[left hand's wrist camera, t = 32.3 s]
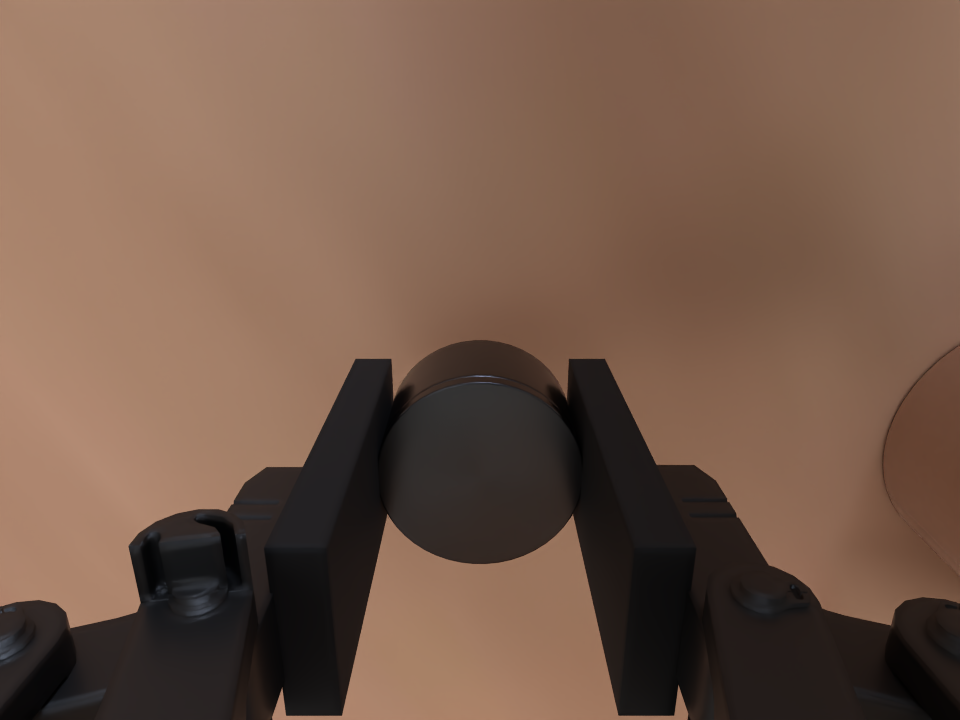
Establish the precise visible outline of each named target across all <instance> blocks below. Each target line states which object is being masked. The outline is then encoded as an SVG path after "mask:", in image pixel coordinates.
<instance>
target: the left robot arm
mask: <svg viewBox="0 0 960 720" xmlns="http://www.w3.org/2000/svg"><path fill="white" fill-rule="evenodd" d="M567 404H568V407H569V411H570V414H571V417H572V421H573V424H574V428H575V431H576V435H577V438H578V442H579V445H580V448H581V452H582V457H583V465H582V482H581V496H580V499H579V502H578V504H577V507H576V509H575V510H574V512H573V516H574V520H575V525H576V529H577V534H578V538H579V542H580V547H581V551H582V556H583V560H584V565H585V569H586V573H587V578H588V582H589V587H590V591H591V596H592V600H593V604H594V609H595V613H596V618H597V622H598V627H599V631H600V635H601V640H602V644H603V649H604V653H605V658H606V662H607V667H608V671H609V675H610V680H611V684H612V689H613V693H614V698H615V702H616V706H617V711H618V715H619V716H674V713H675V706H676V698H677V691H678V684H679V687H680V690H681V693H682V696H683V699H684V702H685V705H686V708H687V711H688V720H960V604H959V603H957V602H953V601H949V600H945V599H935V598H924V597H922V598H917V599H912V600H907V601H904V602H903V603H902V604H901V605H900V606H899V607H898V608H897V609H895V613H894V617H893V620H892V624H891V626H890V625H886V624H881V623H876V622H872V621H867V620H863V619H858V618H853V617H849V616H844V615H841V614H837V613H834V612H830V611H827V610H824V609H822V608H821V605H820V603H819V601H818V600H817V598H816V597H815V595H814V594H813V592H812V591H811V589H810V588H809V587H808V586H806V585H805V584H804V583H802V582H801V581H800V580H798V579H797V578H796V577H794V576H793V575H791V574H788V573H786V572H784V571H782V570H780V569H777V568H775V567H772V566H769V565H768V564H767V562H766V560H765V559H764V557H763V556H762V554H761V552H760V551H759V549H758V548H757V546H756V544H755V543H754V541H753V540H752V538H751V536H750V535H749V533H748V532H747V530H746V528H745V527H744V525H743V524H742V522H741V520H740V519H739V518H737V517H736V512H735V511H734V509H733V508H732V506H731V504H730V503H729V502H727V498H726V496H725V495H724V493H723V491H722V490H721V488H720V487H719V485H718V483H717V482H716V480H714V479H713V478H711V477H710V476H709V475H707V474H706V473H704V472H703V471H702V470H700V469H699V468H697V467H696V466H695V465H656V463H655V461H654V459H653V457H652V455H651V453H650V451H649V449H648V447H647V445H646V443H645V441H644V439H643V436H642V434H641V432H640V430H639V428H638V426H637V424H636V422H635V420H634V418H633V416H632V414H631V412H630V410H629V408H628V406H627V404H626V402H625V400H624V397H623V395H622V393H621V391H620V389H619V387H618V385H617V383H616V381H615V379H614V377H613V375H612V373H611V371H610V369H609V367H608V365H607V363H606V360H605V359H569V371H568V392H567ZM392 405H393V383H392V362H391V359H355V361H354V363H353V365H352V368H351V370H350V372H349V374H348V376H347V378H346V380H345V382H344V384H343V386H342V388H341V390H340V392H339V394H338V396H337V398H336V400H335V402H334V405H333V407H332V409H331V411H330V413H329V415H328V417H327V419H326V421H325V423H324V425H323V427H322V429H321V431H320V433H319V435H318V437H317V439H316V442H315V444H314V446H313V448H312V450H311V452H310V454H309V456H308V458H307V460H306V462H305V464H304V466H303V467H266V468H265V469H263V470H262V471H261V472H259V473H258V474H257V475H255V476H254V477H252V478H251V479H250V480H248V481H247V482H245V484H244V485H243V487H242V489H241V490H240V492H239V493H238V495H237V497H236V498H235V500H234V505H231V506H230V508H229V509H228V511H227V512H226V511H222V510H219V509H198V510H193V511H188V512H183V513H178V514H175V515H172V516H170V517H167V518H164V519H162V520H159V521H157V522H155V523H153V524H152V525H150V526H149V527H147V528H146V529H144V530H143V531H141V532H140V533H139V534H138V535H137V536H136V537H135V539H134V540H133V541H132V542H131V544H130V545H129V551H130V555H131V560H132V564H133V569H134V574H135V578H136V583H137V588H138V592H139V597H140V601H141V604H140V606H139V609H138V611H137V612H136V613H133V614H130V615H126V616H123V617H119V618H116V619H111V620H106V621H102V622H97V623H93V624H88V625H83V626H79V627H74V628H70V626H69V622H68V618H67V615H66V612H65V611H64V610H63V609H62V608H60V607H59V606H58V605H57V604H55V603H50V602H45V601H40V600H36V601H25V602H15V603H12V604H8V605H5V606H1V607H0V720H272V716H273V713H274V710H275V707H276V704H277V701H278V698H279V695H280V692H281V689H282V688H283V695H284V703H285V710H286V716H342V713H343V708H344V704H345V699H346V695H347V691H348V686H349V682H350V677H351V673H352V668H353V664H354V660H355V655H356V651H357V646H358V642H359V637H360V633H361V629H362V624H363V620H364V615H365V611H366V606H367V602H368V597H369V593H370V589H371V584H372V580H373V575H374V571H375V566H376V562H377V558H378V553H379V549H380V544H381V540H382V535H383V531H384V527H385V522H386V518H387V512H386V510H385V508H384V506H383V503H382V501H381V498H380V491H379V475H378V454H379V450H380V446H381V443H382V439H383V436H384V432H385V429H386V425H387V422H388V419H389V415H390V412H391V408H392Z"/></svg>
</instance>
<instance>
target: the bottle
mask: <svg viewBox="0 0 960 720" xmlns="http://www.w3.org/2000/svg"><path fill="white" fill-rule="evenodd" d="M883 469H884V479H885V484H886V488H887V492H888V495H889V497H890V499H891V502H892V504H893V506H894V507H895V509H896V510H897V512H898V514H899V515H900V516H901V518H902V519H903V520H904V521H905V522H906V523H907V524H908V525H909V526H910V527H911V528H912V529H913V530H914V531H915V532H916V533H917V534H918V535H919V536H920V537H921V538H922V539H923V540H924V541H925V542H926V543H927V544H928V546H929V547H930V548H931V549H932V550H933V551H934V552H935V553H936V554H937V555H938V556H939V557H940V558H941V559H942V560H943V561H944V562H945V563H946V564H947V565H948V566H949V567H950V568H951V569H952V570H953V571H954V572H955V573H956V574H957V575H958V576H959V577H960V345H959V346H958V347H956V348H955V349H953V350H952V351H951V352H949V353H948V354H947V355H945V356H944V357H943V358H941V359H940V360H939V361H938V362H937V363H936V364H935V365H933V366H932V367H931V368H930V369H929V370H928V371H927V372H926V373H925V374H924V375H923V376H922V377H921V379H920V380H919V381H918V382H917V383H916V384H915V385H914V386H913V388H912V389H911V391H910V392H909V393H908V395H907V396H906V398H905V399H904V400H903V402H902V404H901V406H900V407H899V409H898V411H897V413H896V415H895V417H894V419H893V422H892V424H891V427H890V429H889V432H888V436H887V440H886V444H885V448H884V458H883Z"/></svg>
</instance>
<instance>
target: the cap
mask: <svg viewBox="0 0 960 720" xmlns="http://www.w3.org/2000/svg"><path fill="white" fill-rule="evenodd" d="M582 465H583V457H582V452H581V448H580V445H579V442H578V438H577V435H576V431H575V428H574V424H573V421H572V417H571V414H570V411H569V407H568V404H567V400H566V397H565V395H564V392H563V390H562V388H561V386H560V384H559V382H558V381H557V379H556V378H555V376H554V375H553V374H552V373H551V371H550V370H549V369H548V368H547V367H546V366H545V365H544V364H543V363H542V362H541V361H539V360H538V359H536V358H535V357H534V356H532V355H531V354H529V353H527V352H525V351H524V350H522V349H519V348H517V347H514V346H512V345H509V344H505V343H501V342H495V341H487V340H473V341H465V342H460V343H456V344H452V345H449V346H446V347H443V348H441V349H439V350H437V351H435V352H433V353H431V354H429V355H428V356H427V357H425V358H424V359H422V360H421V361H420V362H419V363H418V364H417V365H415V366H414V367H413V368H412V369H411V370H410V372H409V373H408V374H407V376H406V377H405V378H404V380H403V381H402V383H401V385H400V386H399V388H398V391H397V393H396V396H395V398H394V401H393V405H392V408H391V412H390V415H389V419H388V422H387V425H386V429H385V432H384V436H383V439H382V443H381V446H380V450H379V454H378V475H379V491H380V498H381V501H382V503H383V506H384V508H385V510H386V512H387V514H388V515H389V517H390V519H391V520H392V521H393V523H394V524H395V525H396V527H397V528H398V529H399V530H400V531H401V532H402V533H403V534H404V535H405V536H406V537H407V538H408V539H410V540H411V541H412V542H413V543H415V544H416V545H418V546H419V547H421V548H423V549H424V550H426V551H428V552H430V553H432V554H434V555H436V556H439V557H442V558H445V559H448V560H452V561H457V562H462V563H471V564H489V563H499V562H503V561H508V560H512V559H515V558H518V557H521V556H524V555H526V554H528V553H530V552H532V551H534V550H536V549H538V548H539V547H541V546H543V545H544V544H546V543H547V542H548V541H549V540H551V539H552V538H553V537H554V536H556V534H557V533H558V532H559V531H560V530H561V529H562V528H563V527H564V526H565V524H566V523H567V522H568V520H569V519H570V518H571V516H572V514H573V512H574V510H575V509H576V507H577V504H578V502H579V499H580V496H581V482H582Z"/></svg>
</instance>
